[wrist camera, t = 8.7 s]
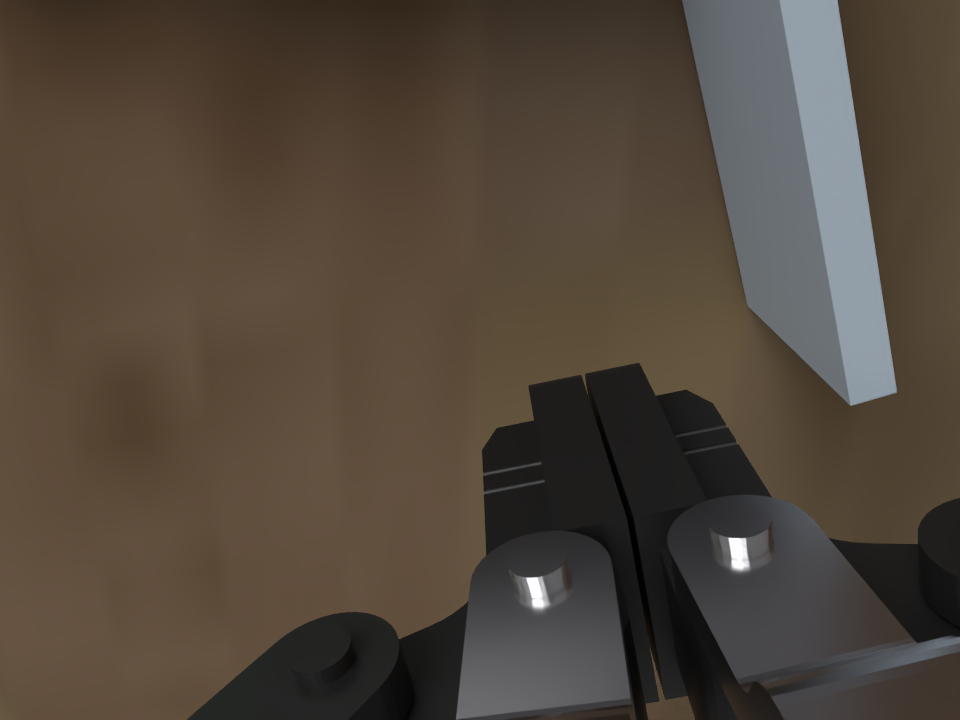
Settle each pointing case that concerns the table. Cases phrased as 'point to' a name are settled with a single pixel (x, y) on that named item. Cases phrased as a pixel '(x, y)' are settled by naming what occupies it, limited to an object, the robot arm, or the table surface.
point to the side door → (795, 182)
